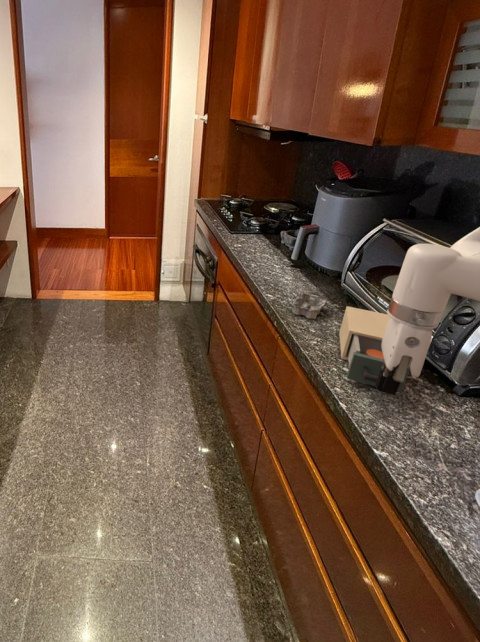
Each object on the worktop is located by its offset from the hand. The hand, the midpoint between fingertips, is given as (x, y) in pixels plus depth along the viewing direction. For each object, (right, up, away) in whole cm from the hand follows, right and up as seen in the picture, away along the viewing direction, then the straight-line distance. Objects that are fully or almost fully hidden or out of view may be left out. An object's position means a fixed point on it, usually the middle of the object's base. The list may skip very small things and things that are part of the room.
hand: (385, 390), depth 77 cm
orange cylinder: (+7, +1, +13) cm, 15 cm away
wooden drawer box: (+12, +2, +23) cm, 26 cm away
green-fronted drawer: (+6, -1, +13) cm, 14 cm away
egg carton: (+7, +10, +42) cm, 43 cm away
